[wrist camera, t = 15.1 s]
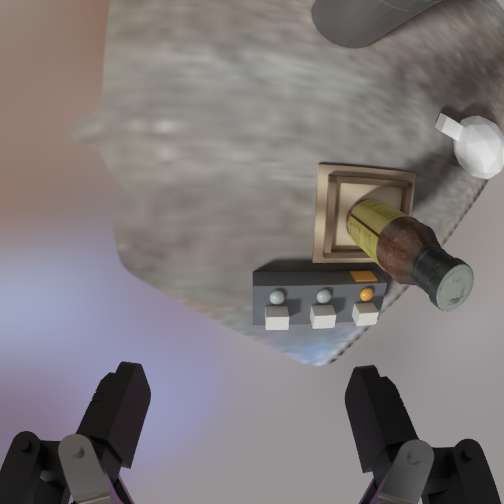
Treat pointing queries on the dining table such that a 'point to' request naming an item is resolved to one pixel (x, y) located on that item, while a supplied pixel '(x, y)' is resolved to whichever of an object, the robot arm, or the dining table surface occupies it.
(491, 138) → the faceted ball with stub
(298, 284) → the breaker bank
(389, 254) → the sauce bottle
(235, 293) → the dining table surface
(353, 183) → the square beige tray
